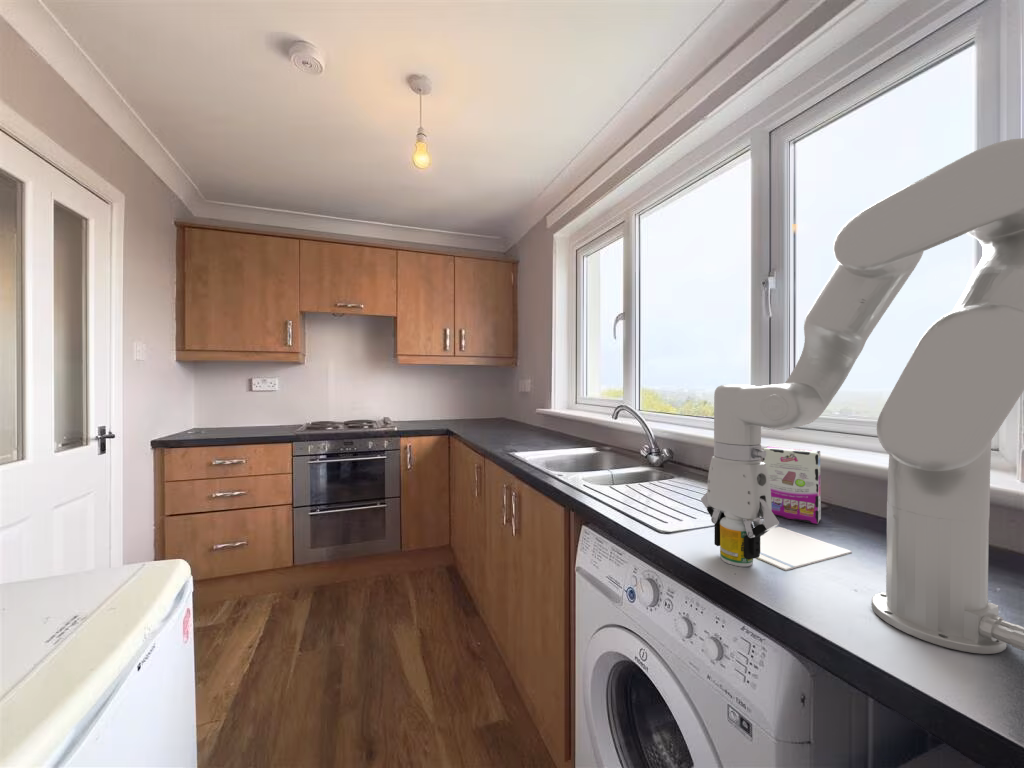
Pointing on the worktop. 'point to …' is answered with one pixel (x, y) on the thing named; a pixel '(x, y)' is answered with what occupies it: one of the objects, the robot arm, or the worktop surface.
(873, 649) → the worktop surface
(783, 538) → the paper notebook
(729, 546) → the supplement bottle
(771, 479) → the candy bar box
